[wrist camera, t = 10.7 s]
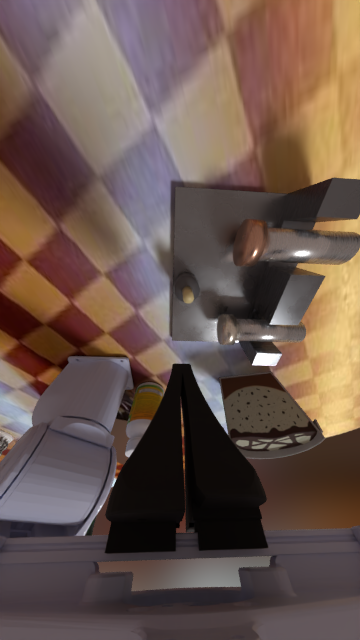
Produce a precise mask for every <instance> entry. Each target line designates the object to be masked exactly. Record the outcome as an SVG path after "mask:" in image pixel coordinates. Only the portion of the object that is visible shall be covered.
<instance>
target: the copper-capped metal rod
mask: <svg viewBox="0 0 360 640" xmlns="http://www.w3.org/2000/svg"><path fill="white" fill-rule="evenodd" d="M359 248H360V235H359V234H357V233H355V232H339V231H321V230H303V229H286V228H268V227H267V223H266V221H265V220H259V219H245V220H244V221H243V222H242V224H241V225H240V227H239V229H238V231H237V234H236V237H235V241H234V246H233V262H234V264H235V265H236V266H246V267H251V266H254V265H255V264H256V263H257V262H258V261H265V262H287V263H308V264H329V265H339V264H343V263H345V262H347V261H349V260H350V259H351V258H352V257H353V256H354V255H355V254H356V253H357V252H358V250H359Z"/></svg>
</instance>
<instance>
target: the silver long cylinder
mask: <svg viewBox="0 0 360 640" xmlns="http://www.w3.org/2000/svg"><path fill="white" fill-rule="evenodd" d="M305 336H306V329H305V326H304V325H303V323H301V322H300V323H299V325H272V324H269V323H268V322H267V321H266V320H256V319H236V318H235V316H234V315H232V314H221V315H220V316H219V318H218V322H217V338H218V341H219V343H220V344H221V345H233V344H234V343H235V341H264V342H301V341H302V340H303V339H304V338H305Z"/></svg>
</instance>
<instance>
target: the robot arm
mask: <svg viewBox="0 0 360 640" xmlns="http://www.w3.org/2000/svg"><path fill="white" fill-rule="evenodd" d="M68 361H69V363H68V364H67V366H66V367H65V368H64V369H63V370H62V372H61V373H60V374H59V375H58V376H57V378H56V379H55V380H54V381H53V382H52V384H51V385H50V386H49V387H48V388H47V390H46V391H45V392H44V393H43V394H42V396H41V397H40V399H39V400H38V402H37V404H36V406H35V409H34V411H33V415H32V424H33V427H31V428H30V429H29V430H28V431H27V432H26V433H25V434H24V435H23V436H22V437H21V438H20V439H19V440H18V442H17V443H16V444H15V445H14V446H13V448H12V449H11V450H10V451H9V452H8V454H7V455H6V456H5V457H4V459H3V460H2V461H1V462H0V640H360V526H355V527H352V528H345V529H309V530H274V531H264V530H263V527H262V524H261V520H260V519H262V516H261V513H260V509H259V506H260V505H262V504H263V503H265V502H266V500H267V499H266V495H265V491H264V489H263V486H262V484H261V482H260V479H259V477H258V476H257V473H256V471H255V469H254V468H253V466H252V465H251V464H250V463H249V462H248V460H247V459H246V458H245V457H244V455H243V454H242V453H241V452H240V450H239V449H238V448H237V447H236V445H235V444H234V443H233V441H232V440H231V439H230V437H229V436H228V435H227V433H226V432H225V430H224V429H223V427H222V426H221V425H220V423H219V422H218V420H217V419H216V417H215V415H214V414H213V412H212V411H211V409H210V407H209V405H208V404H207V402H206V400H205V398H204V396H203V394H202V392H201V390H200V388H199V386H198V384H197V382H196V379H195V377H194V374H193V371H192V368H191V365H190V364H173V366H172V372H171V376H170V379H169V382H168V385H167V388H166V391H165V393H164V396H163V398H162V400H161V403H160V405H159V407H158V409H157V411H156V413H155V415H154V417H153V419H152V421H151V422H150V424H149V426H148V428H147V430H146V431H145V433H144V435H143V436H142V438H141V440H140V441H139V443H138V444H137V446H136V448H135V449H134V451H133V452H132V454H131V455H130V457H129V458H128V460H127V461H126V463H125V464H124V466H123V467H122V469H121V471H120V473H119V475H118V477H117V480H116V482H115V484H114V487H113V489H112V492H111V495H110V498H109V502H108V506H107V510H106V514H105V515H106V518H107V519H108V520H109V521H111V527H110V531H109V535H93V536H92V535H91V536H85V534H86V532H87V530H88V528H89V527H90V525H91V523H92V521H93V520H94V518H95V516H96V515H97V513H98V512H99V511H100V509H101V507H102V506H103V504H104V502H105V500H106V498H107V496H108V494H109V491H110V489H111V486H112V483H113V480H114V476H115V471H116V463H117V461H116V450H115V448H114V447H113V446H112V443H113V440H114V436H112V435H111V434H110V433H111V430H112V427H113V424H114V421H115V418H116V415H117V412H118V409H119V406H120V403H121V400H122V397H123V394H124V391H125V389H133V388H134V385H133V379H132V374H131V369H130V364H129V359H128V358H127V357H90V356H70V357H69V358H68ZM181 403H182V413H183V423H184V445H185V490H184V473H183V453H182V430H181ZM185 506H186V532H194V533H176V528H179V526H180V525H179V523H180V521H182V519H183V516H184V513H185ZM252 556H272V557H271V559H270V565H269V567H243V568H239V570H238V571H239V577H240V582H241V587H202V588H201V587H198V588H172V589H156V590H144V591H131V588H132V581H133V573H132V572H106V573H100V572H99V566H98V563H97V562H107V561H137V560H166V559H192V558H223V557H252Z"/></svg>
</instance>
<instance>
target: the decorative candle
mask: <svg viewBox="0 0 360 640" xmlns="http://www.w3.org/2000/svg"><path fill="white" fill-rule="evenodd" d="M12 440H13V436H12V435H10V434H9V433H7V432H4V431H2V430H0V456H1V454H2V451H4V450H5V449H6V448H7V447H8V443H10V442H11V441H12Z"/></svg>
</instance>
